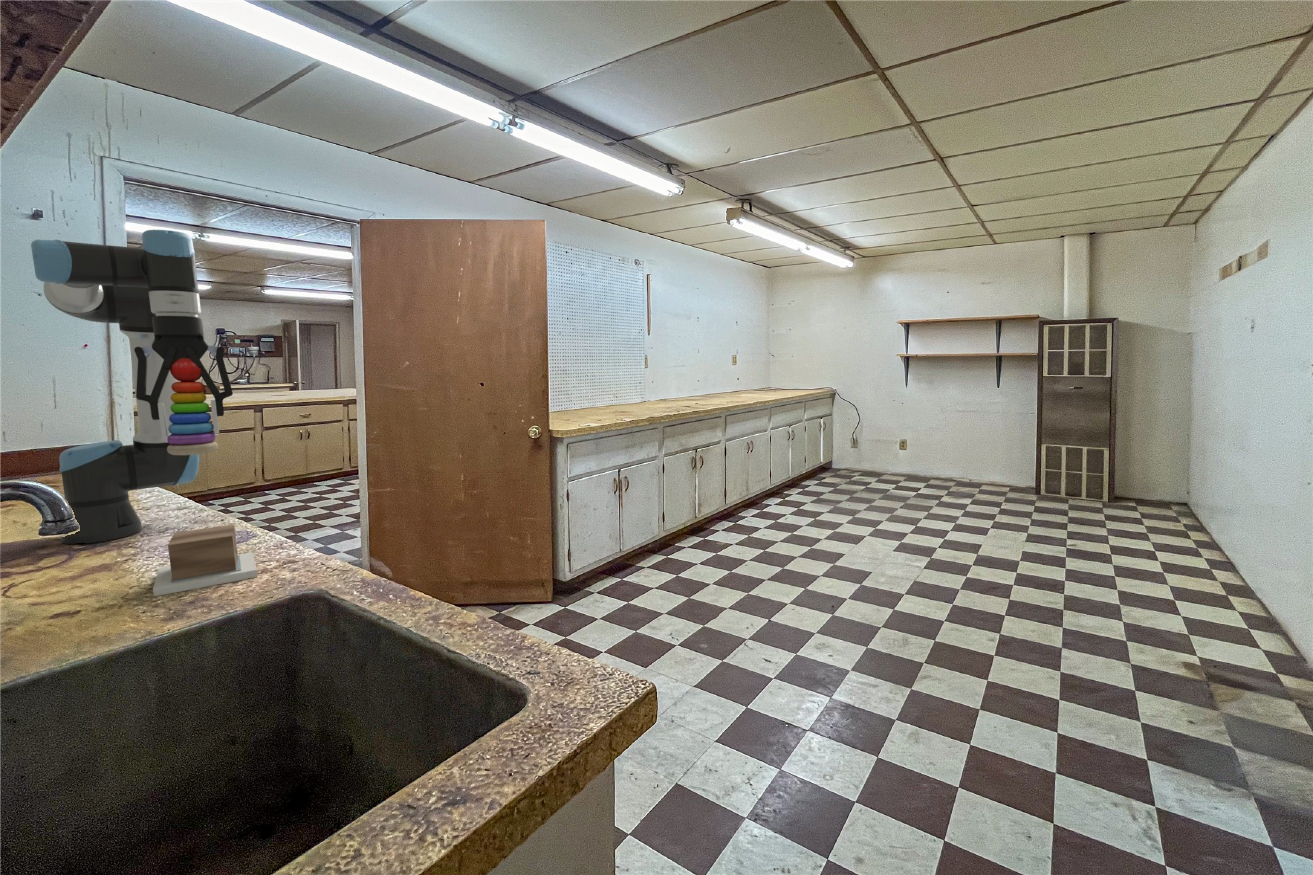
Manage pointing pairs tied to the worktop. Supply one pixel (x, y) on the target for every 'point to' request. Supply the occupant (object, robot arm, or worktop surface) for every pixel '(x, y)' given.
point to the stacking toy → (189, 412)
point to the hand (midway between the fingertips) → (191, 434)
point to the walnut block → (203, 552)
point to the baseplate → (204, 577)
